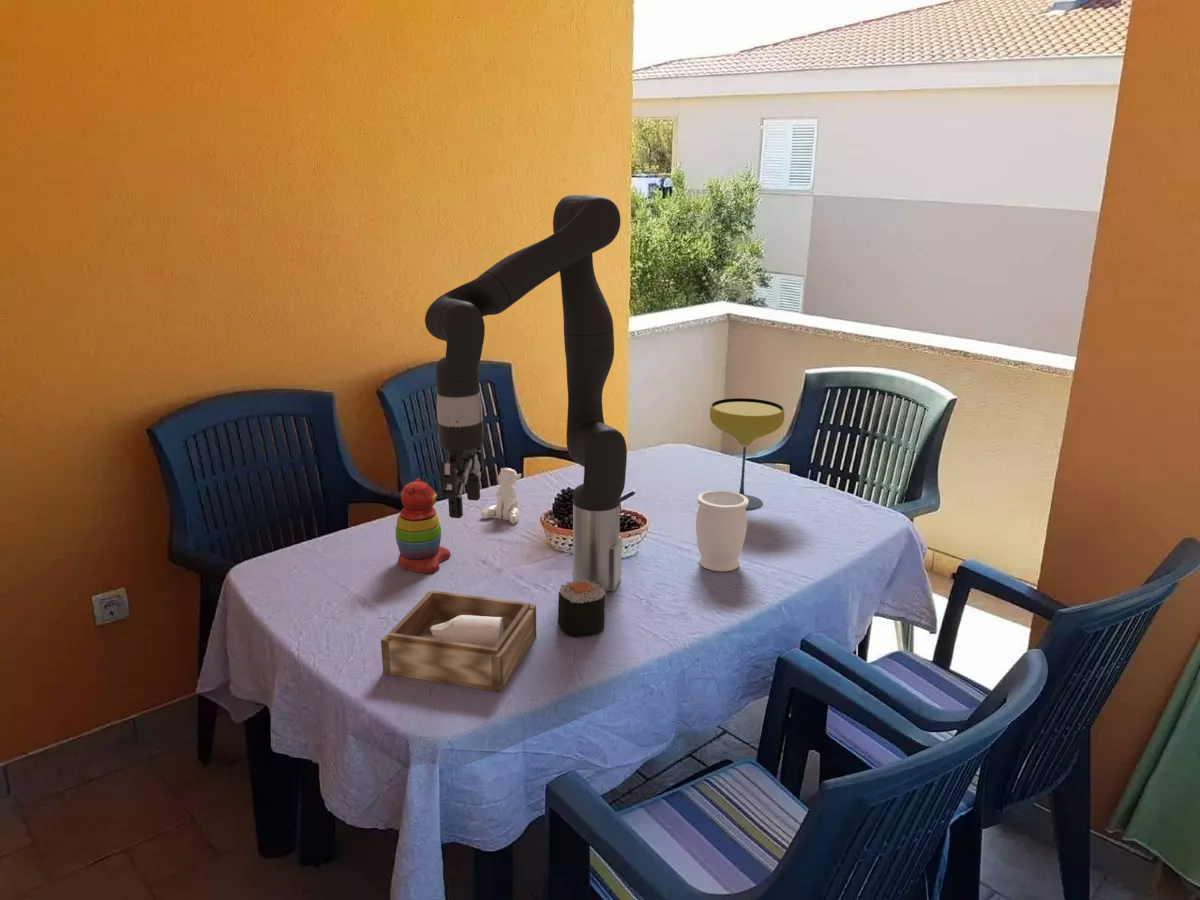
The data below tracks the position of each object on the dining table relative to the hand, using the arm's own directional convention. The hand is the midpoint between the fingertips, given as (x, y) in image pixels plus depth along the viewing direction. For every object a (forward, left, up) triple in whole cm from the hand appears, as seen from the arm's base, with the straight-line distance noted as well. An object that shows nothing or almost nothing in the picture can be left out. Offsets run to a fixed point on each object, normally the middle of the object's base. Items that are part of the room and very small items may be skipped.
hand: (465, 508), depth 154 cm
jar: (-41, -40, -23) cm, 61 cm away
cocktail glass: (-42, -79, -23) cm, 92 cm away
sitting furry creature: (+12, -54, -23) cm, 60 cm away
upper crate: (-3, +9, -23) cm, 25 cm away
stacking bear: (+20, -24, -23) cm, 39 cm away
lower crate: (-3, +9, -23) cm, 25 cm away
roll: (-3, +10, -22) cm, 24 cm away
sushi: (-20, -6, -23) cm, 31 cm away
